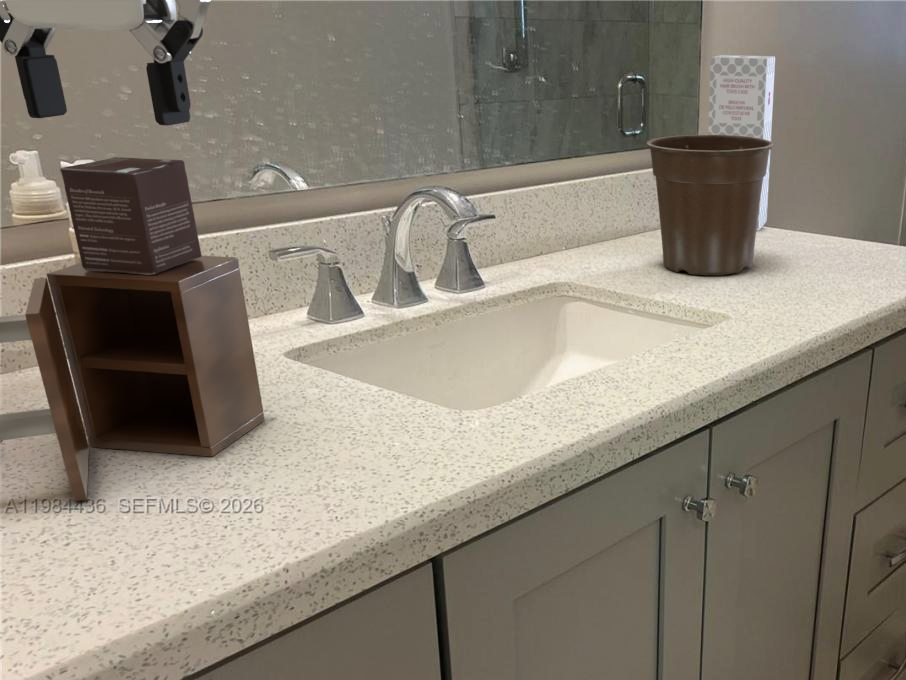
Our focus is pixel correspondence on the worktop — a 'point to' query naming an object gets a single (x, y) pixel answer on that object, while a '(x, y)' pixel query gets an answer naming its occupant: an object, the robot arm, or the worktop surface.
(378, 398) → the worktop surface
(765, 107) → the box
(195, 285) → the cabinet
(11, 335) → the door
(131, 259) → the box
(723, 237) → the plant pot
